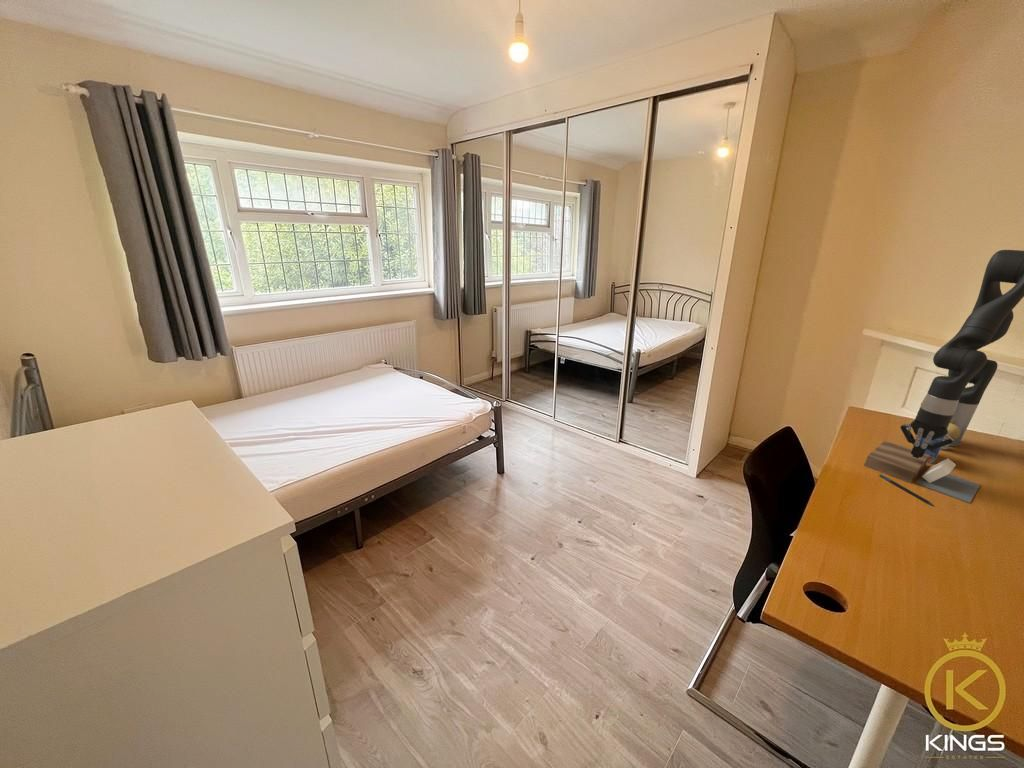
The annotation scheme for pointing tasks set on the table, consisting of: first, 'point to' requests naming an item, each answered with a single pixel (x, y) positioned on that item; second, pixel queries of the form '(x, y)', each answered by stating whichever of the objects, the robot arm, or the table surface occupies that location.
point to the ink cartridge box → (930, 452)
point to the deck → (896, 461)
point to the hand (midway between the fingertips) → (915, 456)
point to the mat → (952, 487)
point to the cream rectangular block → (939, 470)
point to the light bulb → (952, 433)
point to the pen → (906, 490)
